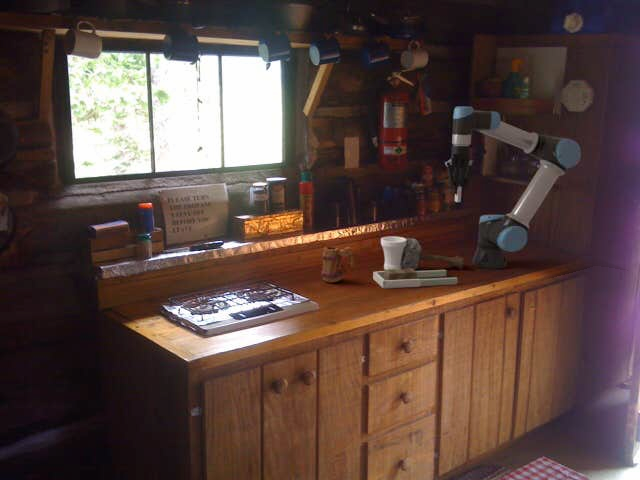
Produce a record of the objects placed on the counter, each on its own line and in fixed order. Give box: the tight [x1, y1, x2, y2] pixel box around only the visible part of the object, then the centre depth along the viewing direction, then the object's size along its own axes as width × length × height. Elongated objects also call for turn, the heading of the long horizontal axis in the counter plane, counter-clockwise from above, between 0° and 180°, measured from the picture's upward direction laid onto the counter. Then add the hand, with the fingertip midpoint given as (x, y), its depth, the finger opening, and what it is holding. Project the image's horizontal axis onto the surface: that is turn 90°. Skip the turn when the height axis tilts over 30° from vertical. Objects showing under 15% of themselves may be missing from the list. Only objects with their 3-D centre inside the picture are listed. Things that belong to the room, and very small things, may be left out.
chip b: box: [383, 269, 403, 280], centre depth 287 cm, size 6×6×5 cm
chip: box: [399, 269, 418, 280], centre depth 288 cm, size 6×6×5 cm
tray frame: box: [372, 270, 421, 289], centre depth 287 cm, size 16×14×3 cm
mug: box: [320, 245, 356, 283], centre depth 285 cm, size 15×8×15 cm, turn 70°
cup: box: [380, 235, 407, 271], centre depth 303 cm, size 11×11×14 cm
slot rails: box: [415, 269, 458, 287], centre depth 291 cm, size 16×13×2 cm
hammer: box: [400, 237, 465, 271], centre depth 306 cm, size 15×10×30 cm
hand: (457, 201), depth 291 cm, fingers closed
